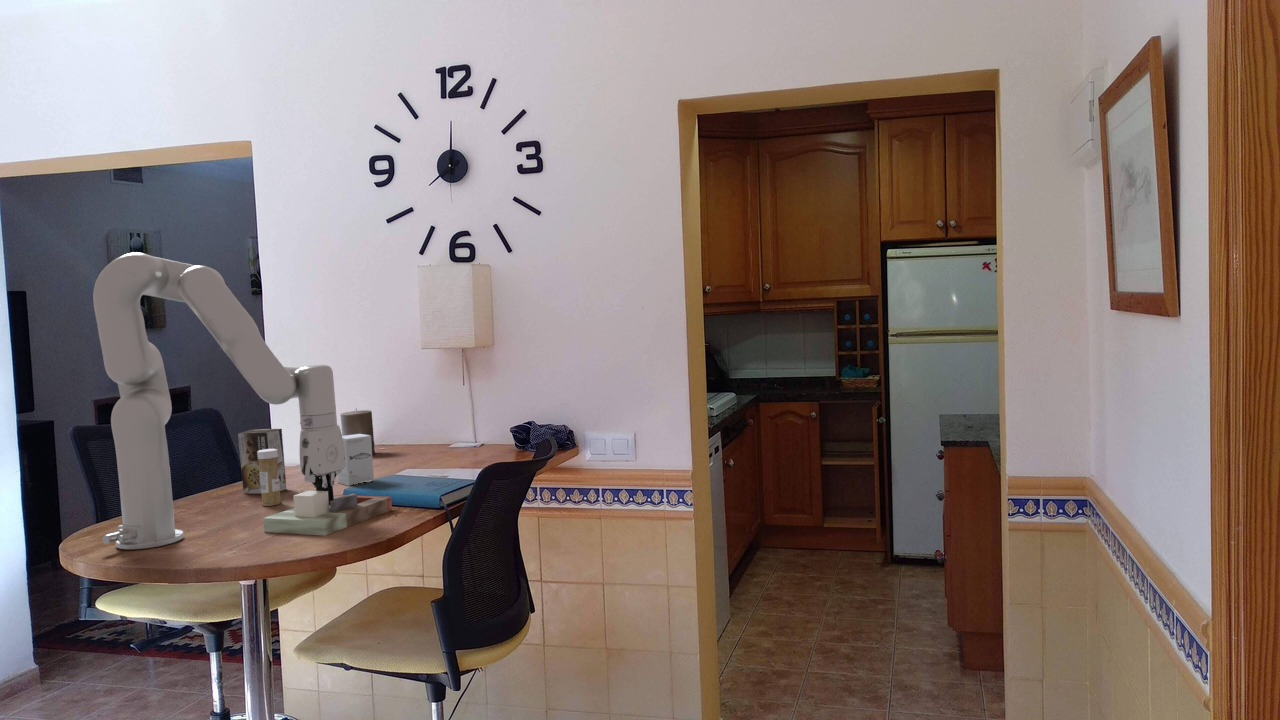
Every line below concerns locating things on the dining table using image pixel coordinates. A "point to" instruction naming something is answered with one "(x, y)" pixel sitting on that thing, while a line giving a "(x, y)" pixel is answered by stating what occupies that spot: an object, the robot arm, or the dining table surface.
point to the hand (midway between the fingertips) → (325, 504)
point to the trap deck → (329, 516)
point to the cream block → (311, 503)
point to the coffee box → (249, 459)
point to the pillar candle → (358, 424)
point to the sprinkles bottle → (269, 477)
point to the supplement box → (357, 460)
